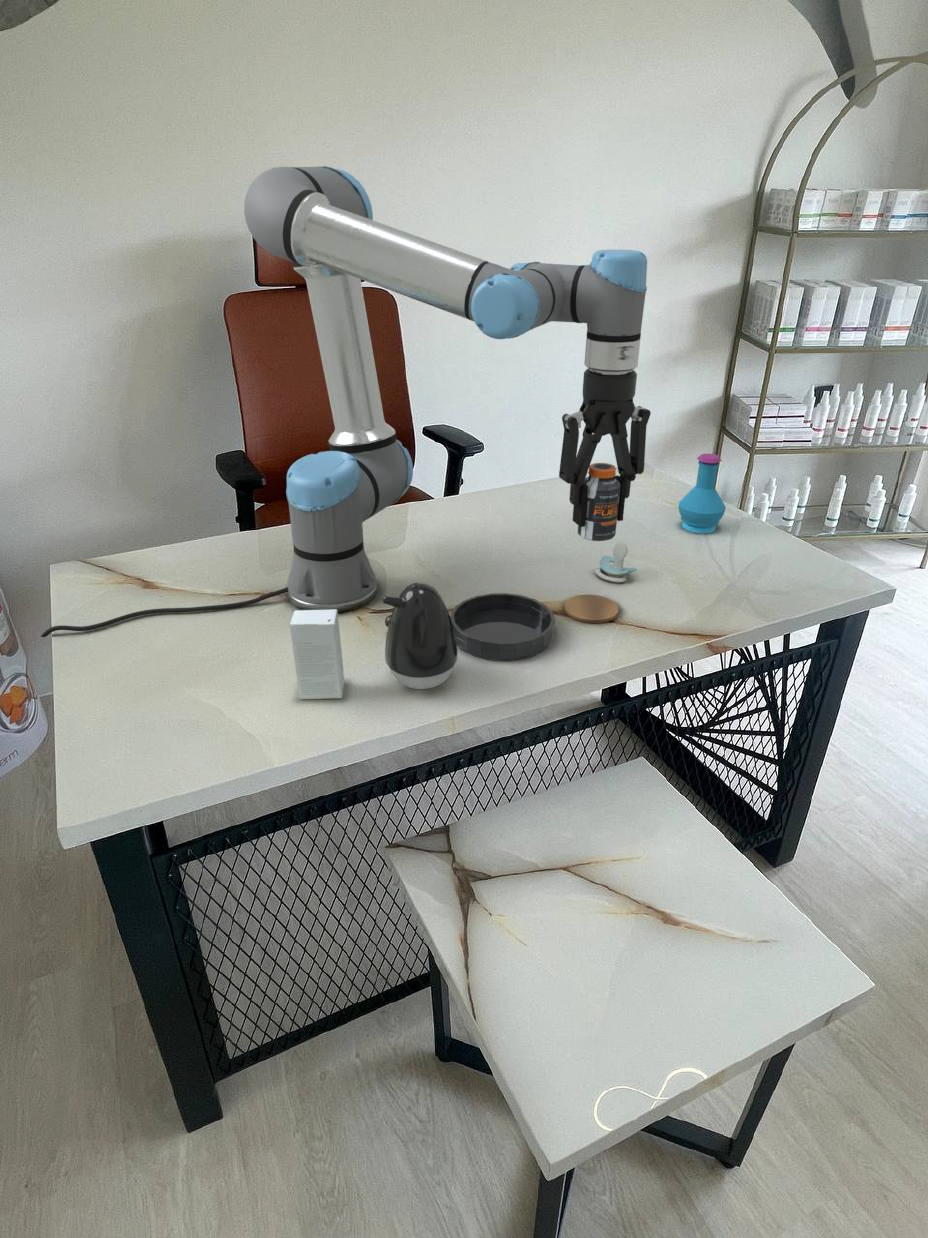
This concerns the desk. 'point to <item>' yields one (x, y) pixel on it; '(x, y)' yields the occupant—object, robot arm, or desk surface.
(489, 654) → the pan
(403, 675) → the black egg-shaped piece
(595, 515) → the pill bottle
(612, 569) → the pacifier
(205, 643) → the desk surface
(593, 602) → the coaster
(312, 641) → the cosmetic box
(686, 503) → the perfume bottle
